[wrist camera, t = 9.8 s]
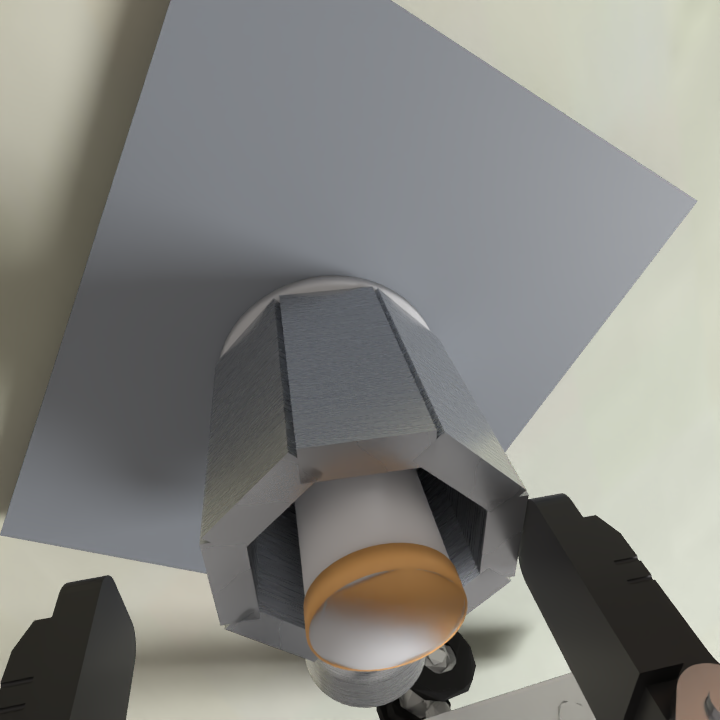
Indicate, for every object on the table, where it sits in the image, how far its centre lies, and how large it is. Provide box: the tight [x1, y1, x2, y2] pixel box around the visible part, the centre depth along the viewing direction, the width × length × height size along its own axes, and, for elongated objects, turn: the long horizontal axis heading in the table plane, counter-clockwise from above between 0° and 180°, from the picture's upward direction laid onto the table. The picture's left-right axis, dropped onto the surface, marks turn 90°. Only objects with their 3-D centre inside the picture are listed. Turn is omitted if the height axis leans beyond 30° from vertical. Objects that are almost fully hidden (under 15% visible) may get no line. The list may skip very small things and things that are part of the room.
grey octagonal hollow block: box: [199, 286, 529, 708], centre depth 14 cm, size 6×8×6 cm
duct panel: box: [0, 0, 697, 671], centre depth 14 cm, size 18×14×9 cm
